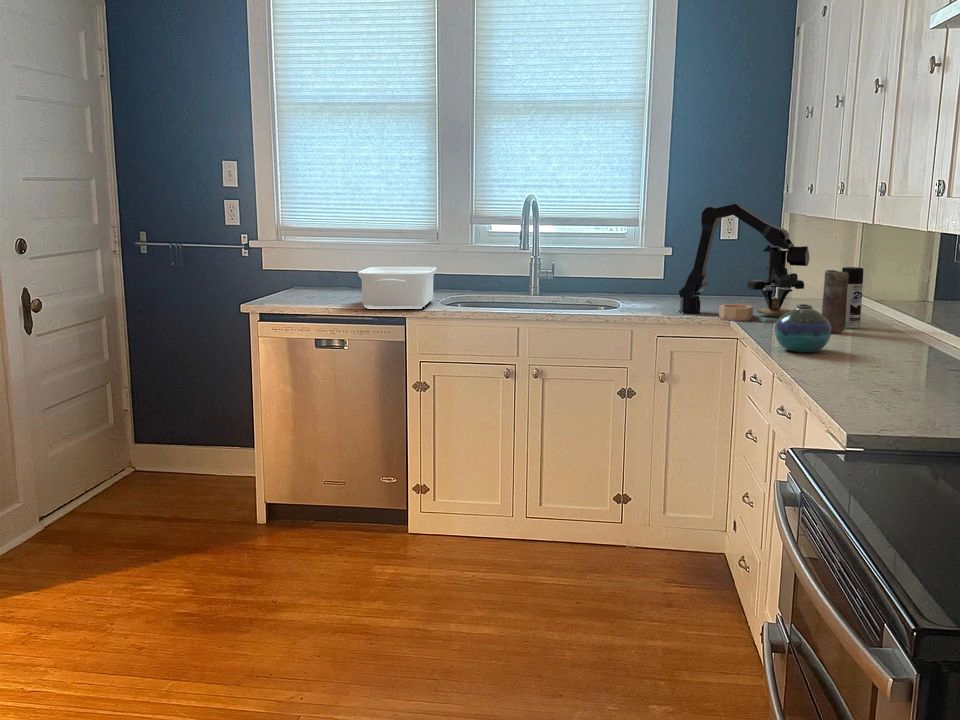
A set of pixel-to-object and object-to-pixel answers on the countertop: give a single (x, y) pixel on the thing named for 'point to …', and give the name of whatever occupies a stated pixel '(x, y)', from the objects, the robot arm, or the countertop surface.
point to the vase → (803, 330)
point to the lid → (773, 308)
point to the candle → (835, 299)
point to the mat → (766, 317)
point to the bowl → (735, 312)
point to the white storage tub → (397, 286)
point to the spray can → (854, 297)
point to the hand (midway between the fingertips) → (774, 308)
